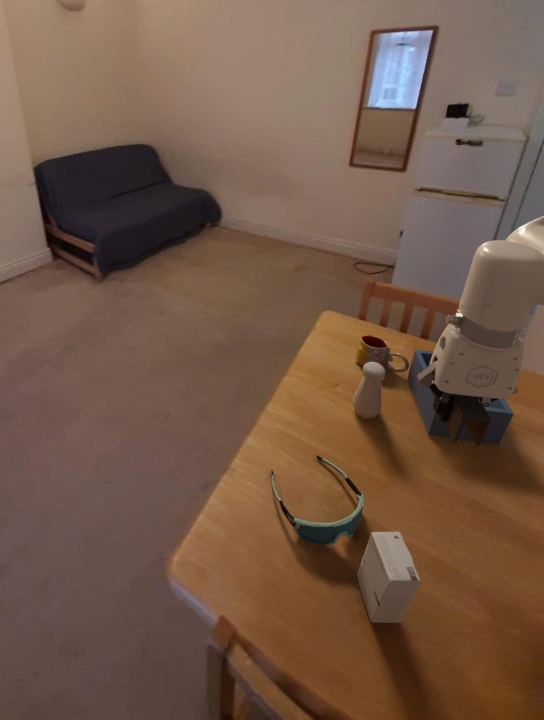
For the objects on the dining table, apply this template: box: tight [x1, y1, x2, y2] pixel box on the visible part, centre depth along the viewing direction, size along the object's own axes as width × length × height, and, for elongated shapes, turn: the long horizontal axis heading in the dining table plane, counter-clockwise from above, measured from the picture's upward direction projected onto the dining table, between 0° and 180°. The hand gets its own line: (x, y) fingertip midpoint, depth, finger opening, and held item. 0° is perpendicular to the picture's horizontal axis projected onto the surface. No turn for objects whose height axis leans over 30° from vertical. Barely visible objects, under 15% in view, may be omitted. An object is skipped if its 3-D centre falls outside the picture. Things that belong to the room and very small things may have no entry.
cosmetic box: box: [356, 531, 422, 624], centre depth 57 cm, size 6×4×12 cm
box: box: [406, 349, 514, 446], centre depth 87 cm, size 13×16×9 cm
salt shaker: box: [352, 362, 386, 420], centre depth 86 cm, size 6×6×13 cm
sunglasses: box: [270, 454, 365, 546], centre depth 72 cm, size 14×15×5 cm
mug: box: [355, 334, 410, 373], centre depth 100 cm, size 12×7×7 cm, turn 45°
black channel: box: [431, 392, 491, 447], centre depth 64 cm, size 4×10×6 cm, turn 169°
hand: (454, 415), depth 65 cm, fingers closed on black channel, 3 cm apart
